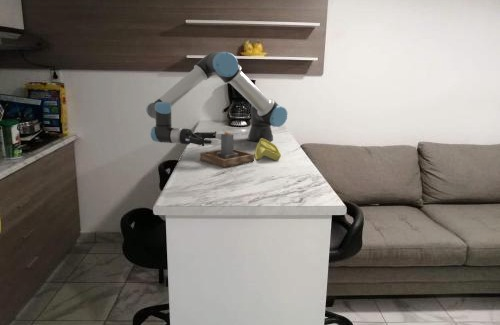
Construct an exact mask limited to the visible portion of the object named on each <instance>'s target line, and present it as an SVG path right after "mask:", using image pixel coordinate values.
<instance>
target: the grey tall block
mask: <svg viewBox="0 0 500 325" xmlns="http://www.w3.org/2000/svg"><path fill="white" fill-rule="evenodd" d="M220 134H221V139H220V145H221V146H220V149H221V154H225V155H230V154H233V149H234V134H233V133H231V132H230V131H224V133H220Z"/></svg>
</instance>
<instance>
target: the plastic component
mask: <svg viewBox="0 0 500 325" xmlns="http://www.w3.org/2000/svg"><path fill="white" fill-rule="evenodd" d="M253 154H254V159H255V160H256V161H260V160H261V159H262V158H263V157H267V158H269V159H271V160H273V161H277V162H278V161H279V160H280V159H281V157H282V155H281V154H282V153H281V151H280V150H279V148H278V146H276V144H274V143H273V142H271V141H267V140H265V139H263V138H261V139H260V141H259V142H257V144H256V147H255V149H254V153H253Z"/></svg>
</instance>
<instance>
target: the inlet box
mask: <svg viewBox="0 0 500 325" xmlns="http://www.w3.org/2000/svg"><path fill="white" fill-rule="evenodd" d="M254 154H255V153H250V152H246V151H243V150H239V149H236V148H233V154H230V155H225V154H221V148H220V149H214V150H209V151H205V152H200V159H199V160H200V161H202V162H205V163H208V164H210V165H214V166H217V167H220V168H222V169H226V168H231V167H237V166H241V165H246V164H250V163H254V162H255V155H254ZM253 161H254V162H253ZM249 162H250V163H249ZM245 163H246V164H245Z"/></svg>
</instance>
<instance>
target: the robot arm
mask: <svg viewBox="0 0 500 325" xmlns="http://www.w3.org/2000/svg"><path fill="white" fill-rule="evenodd" d="M213 76H216V77H218V78H219V79H220V80H222V81H223V83H225V84H230V85H231V86H232V87H233V88H234V89H235V90H236V91H237V92H238V93H239V94H240V95H242V97H243V98H244V99H245V100H247V102H248V103H249V104H250V105H251V108H250V109H251V116H250V117H251V118H250V121H251V122H250V129H249V132H248V133H249V134H248V135H247V140H248V139H249V140H248V141H250V140H252V141H251V142H255V141H260V139H261V138H263V139H265V140H267V141H269V142H271V140H272V141H274V134H273V132H272V128H271V127H274V128H275V127H277V128H280V127H282V126H283V125H284V124H285V123H286V121H287V119H288V111H287V109H286V108H285V107H284V106H282V105H279V104H278V102H276V101H275V100H274V99H273V98H268V96H266V94H264V93H263V92H262V90H260V89H259V88H258V87H257V86H256V84H254V82H252V80H250V78H248V76H247V74H245V73H244V72H243V71H242V66H241V65H240V64H239V61H238V58H237V57H236V56H235V55H234V54H233V53H231V52H228V51H218V52H217V51H213V52H210V53H207V55H205V56H204V57H203V58H202V59H200V60H199V61H198V62H196V63H195V65H194V66H193V69H192V70H190V71H189V72H188V73H187V74H186V75H185V76H183V77H182V78H181V79H180V80H179V81H177V83H175V84H174V85H172V87H171V88H169V89H168V90H167V91H166V92H165V93H163V95H161V96H160V97H159V98H157V99H156V100H155V101H154V102H151V103H148V104H147V105H146V108H145V111H146V114H147V115H148V117H149V118H150V117H151V118H152V119H153V120H154V119H155V126H153V127H152V128H151V130H150V138H151V140H152V141H153V142H157V143H164V144H165V143H166V144H175V145H180V144H182V145H188V146H189V145H190V144H193V145H197V146H201V147H205V145H206V146H207V145H208V146H220V145H219V144H220V140H221V134H222V133H218V132H217V131H213V132H211V131H210V132H199V131H197V132H194V133H193V130H191V128H181V127H172V125H173V124H172V108H173V106H175V105H176V104H177V103H178V102H180V101H181V100H182V99H183V98H185V97H186V96H187V94H189V93H190V92H191V91H192V90H194V88H196V87H197V86H198V85H199V84H201V83H202V82H203V81H207V80H208V79H211V77H213Z"/></svg>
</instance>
